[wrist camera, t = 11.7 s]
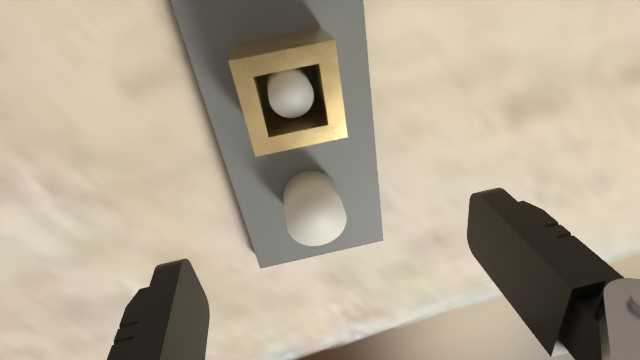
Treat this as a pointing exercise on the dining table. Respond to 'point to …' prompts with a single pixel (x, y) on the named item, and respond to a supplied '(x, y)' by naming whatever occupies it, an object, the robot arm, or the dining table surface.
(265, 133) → the hollow square frame
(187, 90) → the dining table surface
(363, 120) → the stub plate
